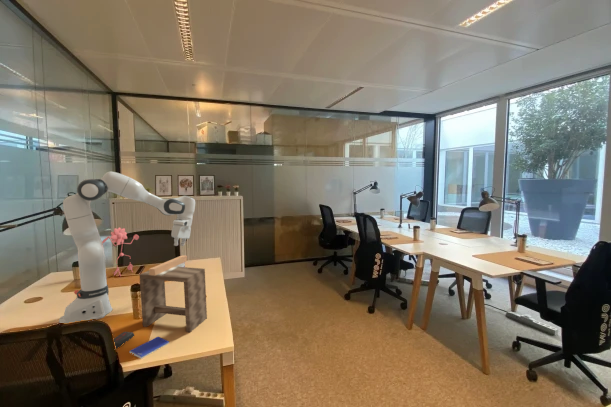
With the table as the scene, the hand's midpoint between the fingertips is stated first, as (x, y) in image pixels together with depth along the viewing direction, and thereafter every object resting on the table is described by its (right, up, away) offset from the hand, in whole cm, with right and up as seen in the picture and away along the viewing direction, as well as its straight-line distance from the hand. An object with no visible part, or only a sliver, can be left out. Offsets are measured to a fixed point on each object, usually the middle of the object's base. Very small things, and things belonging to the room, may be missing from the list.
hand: (179, 245), depth 175 cm
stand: (+11, -34, -29) cm, 46 cm away
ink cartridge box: (-17, -28, +38) cm, 50 cm away
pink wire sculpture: (-64, -28, +48) cm, 85 cm away
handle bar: (+7, -7, -26) cm, 28 cm away
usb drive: (-6, -37, -46) cm, 59 cm away
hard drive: (+9, -37, -50) cm, 63 cm away
